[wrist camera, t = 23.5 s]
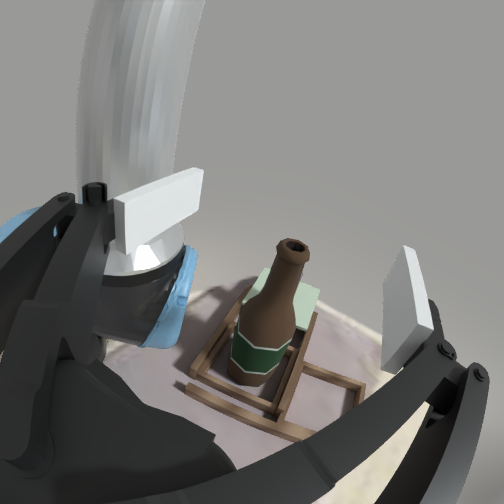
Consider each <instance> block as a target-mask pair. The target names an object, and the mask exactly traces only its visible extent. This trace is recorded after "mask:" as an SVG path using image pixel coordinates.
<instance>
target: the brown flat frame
mask: <svg viewBox="0 0 504 504" xmlns="http://www.w3.org/2000/svg"><path fill="white" fill-rule="evenodd" d="M252 287H253V286H252V285H248V286H247V287H246V289H245V290H244V292H243V293H242V294H241V296H240V297H239V299H238V300H237V302H236V303H235V304H234V306H233V307H232V309H231V310H230V311H229V313H228V314H227V316H226V317H225V319H224V320H223V321H222V323H221V324H220V326H219V327H218V328H217V330H216V331H215V333H214V334H213V335H212V337H211V338H210V340H209V341H208V342H207V344H206V345H205V347H204V348H203V349H202V351H201V352H200V353H199V355H198V356H197V358H196V359H195V360H194V362H193V363H192V365H191V366H190V370H189V377H190V378H192V379H194V380H195V379H197V380H198V381H200V382H202V383H204V384H206V385H208V386H210V387H212V388H214V389H216V390H218V391H220V392H222V393H224V394H226V395H229V396H231V397H233V398H235V399H237V400H239V401H242V402H244V403H246V404H248V405H251V406H253V407H255V408H258V409H260V410H263V411H265V412H267V413H270V414H273V415H272V416H274V417H277V419H276V421H275V422H274V421H271V420H269V419H266V418H264V417H261V416H259V415H257V414H254V413H252V412H250V411H247V410H245V409H243V408H240V407H238V406H236V405H234V404H232V403H230V402H227V401H225V400H223V399H221V398H219V397H217V396H215V395H213V394H211V393H209V392H207V391H205V390H203V389H201V388H199V387H197V386H195V385H194V384H192V383H190V382H189V383H188V384H187V386H186V387H185V394H186V395H188V396H190V397H192V398H193V399H195V400H197V401H199V402H201V403H203V404H205V405H207V406H209V407H211V408H213V409H215V410H217V411H219V412H221V413H223V414H225V415H227V416H230V417H232V418H234V419H236V420H238V421H241V422H243V423H245V424H248V425H250V426H252V427H255V428H257V429H260V430H262V431H265V432H267V433H270V434H272V435H275V436H278V437H281V438H283V439H286V440H289V441H292V442H295V443H296V442H298V441H300V440H304V439H306V438H308V437H310V436H312V435H313V434H315V433H317V432H316V431H313V430H310V429H307V428H304V427H301V426H299V425H296V424H293V423H290V422H288V421H285V420H284V419H285V416H286V413H287V411H288V408H289V406H290V403H291V400H292V398H293V395H294V392H295V389H296V387H297V384H298V381H299V378H300V375H301V372H303V373H305V374H308V375H311V376H313V377H316V378H319V379H321V380H324V381H327V382H330V383H332V384H335V385H338V386H341V387H344V388H347V389H350V390H353V391H356V396H355V401H354V407H353V408H355V407H356V406H357V405H359V404H360V403H362V402H363V401H364V395H365V388H366V384H365V383H362V382H359V381H356V380H353V379H351V378H348V377H345V376H342V375H339V374H336V373H334V372H331V371H328V370H326V369H323V368H320V367H318V366H315V365H312V364H310V363H307V362H305V361H303V358H304V355H305V352H306V349H307V346H308V343H309V340H310V337H311V334H312V331H313V328H314V325H315V321H316V318H317V315H318V313H316V312H314V311H313V314H312V317H311V320H310V323H309V326H308V329H307V331H306V332H304V335H303V338H302V340H301V343H300V346H299V349H296V348H294V347H291V346H288V348H287V349H286V351H285V353H284V355H285V356H287V357H290V358H289V361H288V363H287V366H286V369H285V371H284V373H283V376H282V378H281V381H280V383H279V386H278V388H277V390H276V393H275V395H274V397H273V400H272V402H269V401H266V400H264V399H261V398H259V397H257V396H254V395H252V394H250V393H248V392H245V391H243V390H241V389H239V388H236V387H234V386H232V385H230V384H228V383H226V382H224V381H222V380H220V379H218V378H216V377H214V376H212V375H210V374H208V373H207V371H208V370H209V368H210V367H211V365H212V364H213V362H214V361H215V359H216V357H217V356H218V354H219V353H220V351H221V350H222V348H223V347H224V345H225V344H226V342H227V341H228V339H229V337H230V336H231V334H232V333H235V329H236V325H237V323H236V322H234V321H235V319H236V318H237V316H238V315H239V313H240V312H241V309H242V307H243V305H242V301H243V300H244V298H245V297H246V295H247V294H248V292H249V291H250V290H251V288H252Z"/></svg>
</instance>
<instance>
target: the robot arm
mask: <svg viewBox="0 0 504 504" xmlns="http://www.w3.org/2000/svg"><path fill="white" fill-rule="evenodd" d="M205 1H206V0H95V2H94V5H93V9H92V13H91V17H90V21H89V25H88V30H87V34H86V39H85V45H84V50H83V57H82V63H81V71H80V78H79V87H78V98H77V113H76V178H77V192H78V204H77V203H75V195H74V194H72V193H67V192H64V193H61V194H58V195H57V196H54V197H53V198H52V199H51V200H49V201H48V202H47V203H45V204H44V205H43V206H41V207H36V208H33V209H30V210H27V211H25V212H23V213H20V214H18V215H17V216H15V217H13V218H12V219H10V220H9V221H7V222H6V223H5V224H4V225H3V226H1V227H0V354H1V353H2V351H3V350H4V352H3V355H2V359H1V362H0V504H311V503H312V502H314V501H316V500H317V499H319V498H320V497H322V496H323V495H325V494H326V493H327V492H329V491H330V490H331V489H332V488H333V487H334V486H335V483H337V482H338V481H339V480H340V479H341V478H343V477H344V476H345V475H347V474H348V473H349V472H351V471H352V470H353V469H354V468H356V467H357V466H358V465H359V464H361V463H362V462H363V461H364V460H366V459H367V458H368V457H369V456H370V455H371V454H373V453H374V452H375V451H376V450H377V449H378V448H379V447H380V446H382V445H383V444H384V443H385V442H386V441H387V440H388V439H389V438H390V437H391V436H392V435H393V434H394V433H395V432H396V431H397V430H398V429H399V428H400V427H401V426H402V425H403V424H404V423H405V422H406V421H407V420H408V419H409V418H410V417H411V416H412V415H413V414H414V413H415V411H416V410H417V409H418V408H419V407H420V406H421V405H422V404H423V402H424V401H425V402H427V403H428V404H430V406H429V408H428V411H427V413H426V415H425V417H424V420H423V422H422V424H421V426H420V428H419V430H418V432H417V434H416V436H415V438H414V440H413V442H412V444H411V446H410V448H409V450H408V451H407V453H406V455H405V457H404V459H403V460H402V462H401V464H400V465H399V467H398V469H397V470H396V472H395V474H394V475H393V477H392V478H391V480H390V481H389V483H388V485H387V486H386V488H385V489H384V490H383V492H382V493H381V495H380V496H379V498H378V499H377V500H376V502H375V503H374V504H456V502H457V500H458V498H459V495H460V493H461V491H462V488H463V486H464V483H465V480H466V478H467V475H468V472H469V469H470V466H471V463H472V460H473V457H474V454H475V450H476V447H477V443H478V440H479V436H480V432H481V428H482V423H483V419H484V414H485V409H486V403H487V397H488V389H489V376H488V372H487V371H486V369H485V368H484V367H483V366H482V365H480V364H478V363H475V362H474V363H472V364H471V365H470V366H469V367H468V368H467V369H466V368H465V367H463V366H462V365H460V364H459V363H458V362H456V358H457V356H456V352H455V349H454V348H453V347H452V345H451V344H450V343H449V342H447V341H446V340H445V339H444V334H443V329H442V325H441V320H440V318H439V312H438V309H437V307H436V305H435V303H434V302H433V301H432V300H430V299H428V298H427V294H426V290H425V285H424V282H423V278H422V274H421V270H420V266H419V263H418V259H417V256H416V253H415V250H414V249H411V248H409V247H407V246H405V245H403V247H402V249H401V251H400V253H399V255H398V256H397V258H396V261H395V262H394V264H393V266H392V268H391V270H390V272H389V274H388V275H387V277H386V279H385V281H384V283H383V336H382V356H381V370H383V371H386V372H389V373H392V374H395V375H396V374H397V372H398V371H399V370H400V369H401V368H402V367H403V370H401V371H400V372H399V373H398V374H397V375H396V376H394V377H393V378H392V379H391V380H390V381H389V382H387V383H386V384H385V385H384V386H382V387H381V388H380V389H379V390H377V391H376V392H375V393H374V394H372V395H371V396H370V397H368V398H367V399H366V400H364V401H363V402H362V403H360V404H359V405H357V406H356V407H355V408H353V409H352V410H350V411H349V412H348V413H346V414H345V415H343V416H342V417H340V418H339V419H337V420H336V421H334V422H333V423H331V424H330V425H328V426H326V427H325V428H323V429H322V430H320V431H318V432H317V433H315V434H313V435H312V436H310V437H308V438H306V439H304V440H300V441H298V442H296V443H294V444H292V445H290V446H288V447H286V448H284V449H282V450H280V451H278V452H276V453H274V454H272V455H270V456H268V457H266V458H264V459H261V460H259V461H257V462H255V463H253V464H250V465H248V466H246V467H243V468H241V469H239V470H237V469H236V467H235V466H234V464H233V462H232V461H231V459H230V458H229V457H228V456H227V454H226V453H225V452H224V451H223V450H222V449H221V448H220V447H219V446H218V445H216V444H215V443H214V442H213V441H214V438H215V436H216V435H215V434H213V433H211V432H209V431H207V430H206V429H204V428H202V427H200V426H198V425H196V424H194V423H192V422H190V421H189V420H187V419H185V418H183V417H181V416H178V415H175V414H171V413H168V412H165V411H162V410H159V409H157V408H154V407H151V406H148V405H146V404H144V403H143V402H142V401H141V400H140V399H139V398H138V397H137V396H136V395H135V394H134V392H133V391H132V390H131V389H130V388H129V387H128V385H127V384H126V383H125V382H124V381H123V379H122V378H121V377H120V376H119V375H117V374H116V373H115V372H113V371H112V370H111V369H109V368H108V367H107V366H105V365H104V364H103V360H104V358H105V354H106V338H108V339H112V340H116V341H120V342H124V343H128V344H132V345H136V346H138V347H141V348H144V347H152V348H159V349H167V348H170V347H172V346H173V345H174V344H175V343H176V342H177V340H178V337H179V334H180V330H181V327H182V322H183V318H184V314H185V309H186V305H187V300H188V296H189V292H190V288H191V284H192V280H193V276H194V271H195V266H196V262H197V255H198V254H197V251H196V250H195V249H194V248H191V247H190V246H188V245H184V232H183V228H182V226H181V224H180V223H179V221H181V220H183V219H184V218H186V217H188V216H189V215H191V214H193V213H194V212H196V211H198V208H199V201H200V193H201V186H202V180H203V173H204V170H201V169H198V168H195V167H193V168H190V169H187V170H184V171H181V172H179V173H176V174H173V170H174V161H175V153H176V145H177V137H178V130H179V123H180V116H181V110H182V103H183V98H184V92H185V86H186V82H187V76H188V71H189V66H190V61H191V57H192V52H193V48H194V43H195V39H196V34H197V31H198V26H199V23H200V19H201V15H202V12H203V8H204V4H205Z"/></svg>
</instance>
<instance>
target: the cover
mask: <svg viewBox="0 0 504 504" xmlns="http://www.w3.org/2000/svg"><path fill="white" fill-rule="evenodd" d="M270 270H271V269H269V268H265V269H264V270H263V272H262V273H261V275H260V276H259V278H258V279H257V281H256V282H255V284H254V285H253V287H252V288H251V290H250V291H249V292H248V294H247V295H246V297H245V298H244V300H243V301H242V305H244V304H245V303H246V302H247V301H248V300H249V299H250V298H252V297H254V296H256V295H257V294H259V293H260V291H261V290H262V288H263V286H264V285H265V282H266V280H267V277H268V275H269V272H270ZM302 275H303V274H301V277H302ZM301 277H300V280H301ZM300 280H299V283H298V286H297V289H296V292H295V295H294V299H293V305H294V311H295V318H296V328H298V329H300V330H303V331H305V332H306V331H307V329H308V326H309V323H310V320H311V317H312V314H313V311H314V307H315V304H316V301H317V298H318V294H319V291H320V290H319V289H317V288H315V287H312V286H310V285H307V284H305V283H303V282H300Z"/></svg>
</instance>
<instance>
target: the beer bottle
mask: <svg viewBox="0 0 504 504" xmlns="http://www.w3.org/2000/svg"><path fill="white" fill-rule="evenodd" d="M276 249H277V255H276V258H275V260H274V263H273V265H272V267H271V270H270V272H269V275H268V277H267V280H266V282H265V285H264V286H263V288H262V290H261V291H260V293H259V294H257V295H256V296H254V297H252V298H250V299H249V300H248V301H247V302H246V303H245V304H244V305H243V307H242V309H241V312H240V314H239V318H238V322H237V325H236V329H235V333H234V336H233V340H232V344H231V347H230V351H229V356H228V369H227V373H228V374H229V375H230V376H231V377H232V378H233V379H234V380H235V381H236V382H237V383H238V384H239V385H244V386H253V387H259V386H260V385H261V384H263V383H264V382H265V381H267V380H268V379H269V378H270V377H271V376H272V375H273V373H274V372H275V370H276V368H277V366H278V364H279V363H280V361H281V359H282V357H283V355H284V353H285V351H286V349H287V348H288V346H289V344H290V342H291V340H292V338H293V335H294V333H295V330H296V318H295V311H294V305H293V299H294V295H295V292H296V289H297V286H298V283H299V280H300V277H301V274H302V271H303V268H304V264H305V262H307V261H309V256H310V252H309V249H308V246H306V245H305V244H303V243H302V242H301V241H299V240H294V239H289V238H287V239H284V240H282V241H280V242H279V244H278V245H277V246H276Z"/></svg>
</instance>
